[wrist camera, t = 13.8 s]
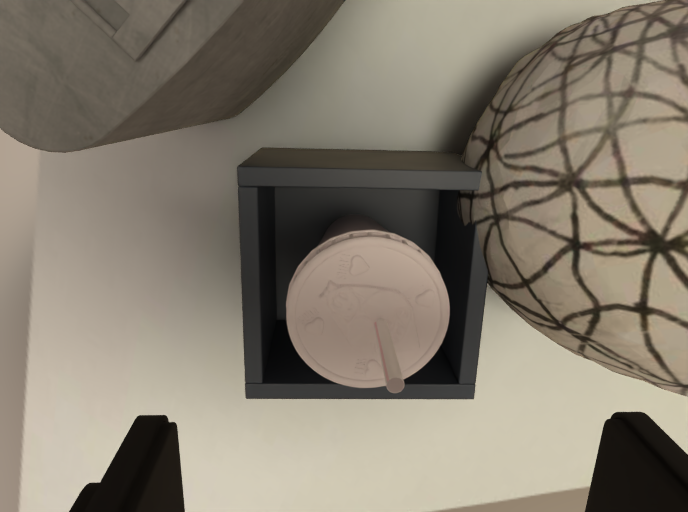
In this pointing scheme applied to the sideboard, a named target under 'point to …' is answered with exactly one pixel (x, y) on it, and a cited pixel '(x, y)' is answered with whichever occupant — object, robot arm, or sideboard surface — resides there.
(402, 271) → the smoothie
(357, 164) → the bin
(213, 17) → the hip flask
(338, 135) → the sideboard surface
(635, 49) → the sculpture
